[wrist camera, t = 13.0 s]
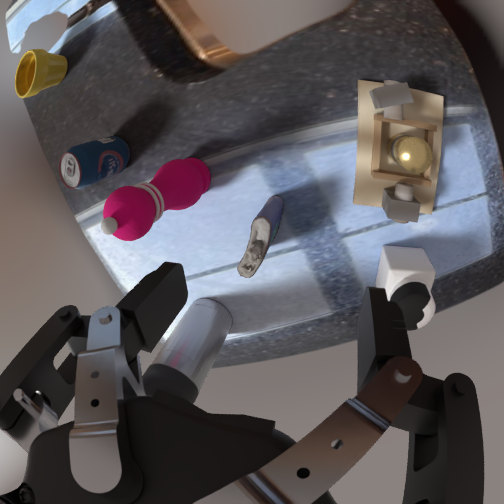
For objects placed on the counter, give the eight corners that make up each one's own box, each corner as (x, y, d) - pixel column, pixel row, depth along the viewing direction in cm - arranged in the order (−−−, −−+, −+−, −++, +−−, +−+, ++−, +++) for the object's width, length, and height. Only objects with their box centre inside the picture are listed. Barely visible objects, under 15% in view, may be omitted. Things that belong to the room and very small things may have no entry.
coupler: (419, 154, 29) (438, 162, 23) (396, 169, 31) (411, 180, 25) (403, 128, 28) (420, 129, 22) (380, 143, 30) (392, 148, 24)
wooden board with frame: (429, 213, 33) (442, 229, 28) (352, 203, 36) (356, 218, 31) (440, 96, 24) (458, 95, 19) (357, 80, 27) (363, 74, 22)
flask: (270, 192, 38) (250, 220, 29) (289, 200, 38) (275, 230, 29) (252, 244, 43) (230, 283, 34) (269, 251, 43) (251, 292, 34)
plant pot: (63, 98, 38) (27, 104, 30) (43, 85, 38) (10, 91, 29) (79, 53, 33) (41, 53, 25) (57, 45, 32) (23, 46, 24)
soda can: (128, 177, 43) (80, 199, 33) (103, 164, 44) (55, 183, 34) (136, 141, 40) (84, 156, 30) (109, 130, 40) (58, 143, 30)
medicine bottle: (374, 283, 41) (382, 336, 31) (381, 244, 37) (396, 292, 27) (413, 286, 39) (430, 337, 29) (423, 247, 35) (448, 294, 25)
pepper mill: (217, 159, 38) (130, 204, 21) (210, 203, 42) (132, 271, 25) (175, 150, 39) (78, 187, 22) (171, 192, 43) (84, 248, 26)
